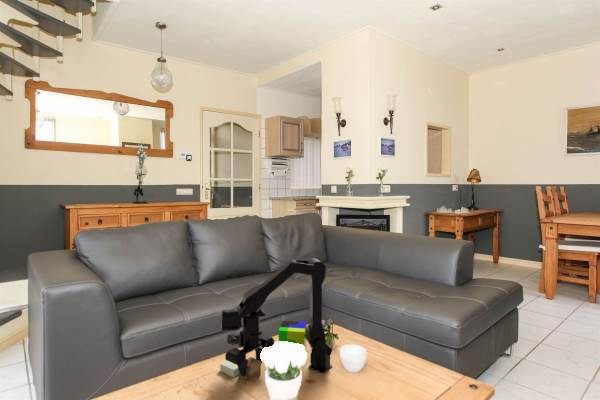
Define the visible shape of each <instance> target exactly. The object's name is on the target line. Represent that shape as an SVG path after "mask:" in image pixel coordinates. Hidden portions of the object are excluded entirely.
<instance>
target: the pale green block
mask: <svg viewBox="0 0 600 400" xmlns="http://www.w3.org/2000/svg"><path fill="white" fill-rule="evenodd" d="M219 371H220V372H222V373H224V374H226V375H228V376H230V377H232V378H235V377H238V376H240V371H239V369H238V366H237V365H236V364H234V363H231V362H229V361H227V360H224V361H222V362H221V363H220V366H219Z"/></svg>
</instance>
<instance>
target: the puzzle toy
mask: <svg viewBox="0 0 600 400" xmlns="http://www.w3.org/2000/svg"><path fill="white" fill-rule="evenodd" d="M307 324H308V323H307V321H294V320H282V321H281V324H280V326H279V329H278V342H279V341H288V342H293V343H299V344H303V345H304V346H305V348H306V347H307V339H306V338H305V336H304V335H305V326H308V325H307Z"/></svg>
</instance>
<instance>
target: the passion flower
mask: <svg viewBox="0 0 600 400" xmlns="http://www.w3.org/2000/svg"><path fill="white" fill-rule="evenodd" d="M322 326H323V329H324V333H325V337H326V342H327V343H328V344H329V345H331V344H332V343H333V342H334V343H335V340H339V339H340V338H339V336H338V335H339V334H338V333H334V329H333V328H334V322H333V320H332V319H331V318H329V319H326V320H322Z"/></svg>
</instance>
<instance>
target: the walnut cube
mask: <svg viewBox="0 0 600 400" xmlns="http://www.w3.org/2000/svg"><path fill="white" fill-rule="evenodd" d="M246 359H247V360H248V364H247V368H246V373H245V376H244V377H242V376H241V374H239V377H242V378H243V379H246V380H248V381H250V382H252V381H253V380H254V379H256V378H257V377H259V376H261V373H262V370H261V369H262V366H261V365H262V364H261V361H260V360H257V359H256V357H255V358H254V357H252V356H248V357H246Z"/></svg>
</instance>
